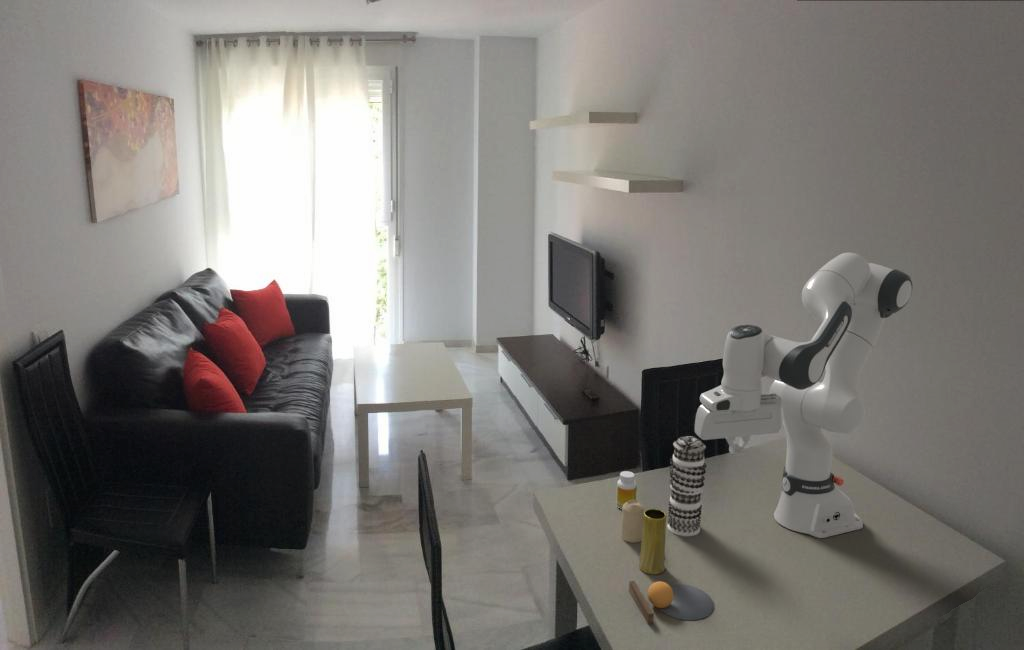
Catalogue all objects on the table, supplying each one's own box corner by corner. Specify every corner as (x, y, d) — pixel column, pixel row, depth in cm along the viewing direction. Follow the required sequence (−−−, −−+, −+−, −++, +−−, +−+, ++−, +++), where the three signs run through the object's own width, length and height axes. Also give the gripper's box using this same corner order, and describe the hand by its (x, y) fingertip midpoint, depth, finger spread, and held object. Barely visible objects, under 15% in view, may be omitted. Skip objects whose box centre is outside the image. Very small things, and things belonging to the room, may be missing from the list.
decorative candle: (674, 538, 192) (680, 448, 186) (660, 521, 201) (665, 434, 194) (707, 535, 194) (714, 445, 187) (691, 517, 202) (698, 431, 196)
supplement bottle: (636, 511, 206) (638, 478, 203) (617, 510, 206) (618, 478, 203) (634, 501, 211) (635, 470, 209) (615, 501, 211) (616, 469, 209)
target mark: (698, 581, 174) (698, 581, 174) (724, 616, 161) (724, 615, 161) (645, 587, 171) (645, 587, 171) (667, 623, 159) (667, 622, 159)
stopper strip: (633, 590, 170) (634, 580, 170) (653, 623, 159) (654, 613, 158) (628, 591, 170) (629, 581, 169) (648, 624, 159) (648, 614, 158)
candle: (642, 544, 189) (644, 508, 187) (620, 541, 190) (622, 506, 188) (643, 533, 195) (645, 498, 192) (621, 530, 196) (623, 495, 193)
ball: (651, 573, 166) (639, 593, 166) (661, 587, 160) (649, 609, 161) (671, 580, 167) (659, 601, 168) (681, 595, 162) (669, 616, 163)
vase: (636, 561, 182) (639, 507, 178) (660, 560, 182) (664, 507, 179) (642, 575, 176) (645, 520, 172) (667, 574, 177) (671, 519, 173)
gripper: (774, 388, 175) (770, 442, 179) (693, 395, 171) (690, 451, 175) (789, 397, 169) (784, 453, 173) (705, 405, 165) (702, 462, 169)
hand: (736, 452), depth 174 cm, fingers closed
